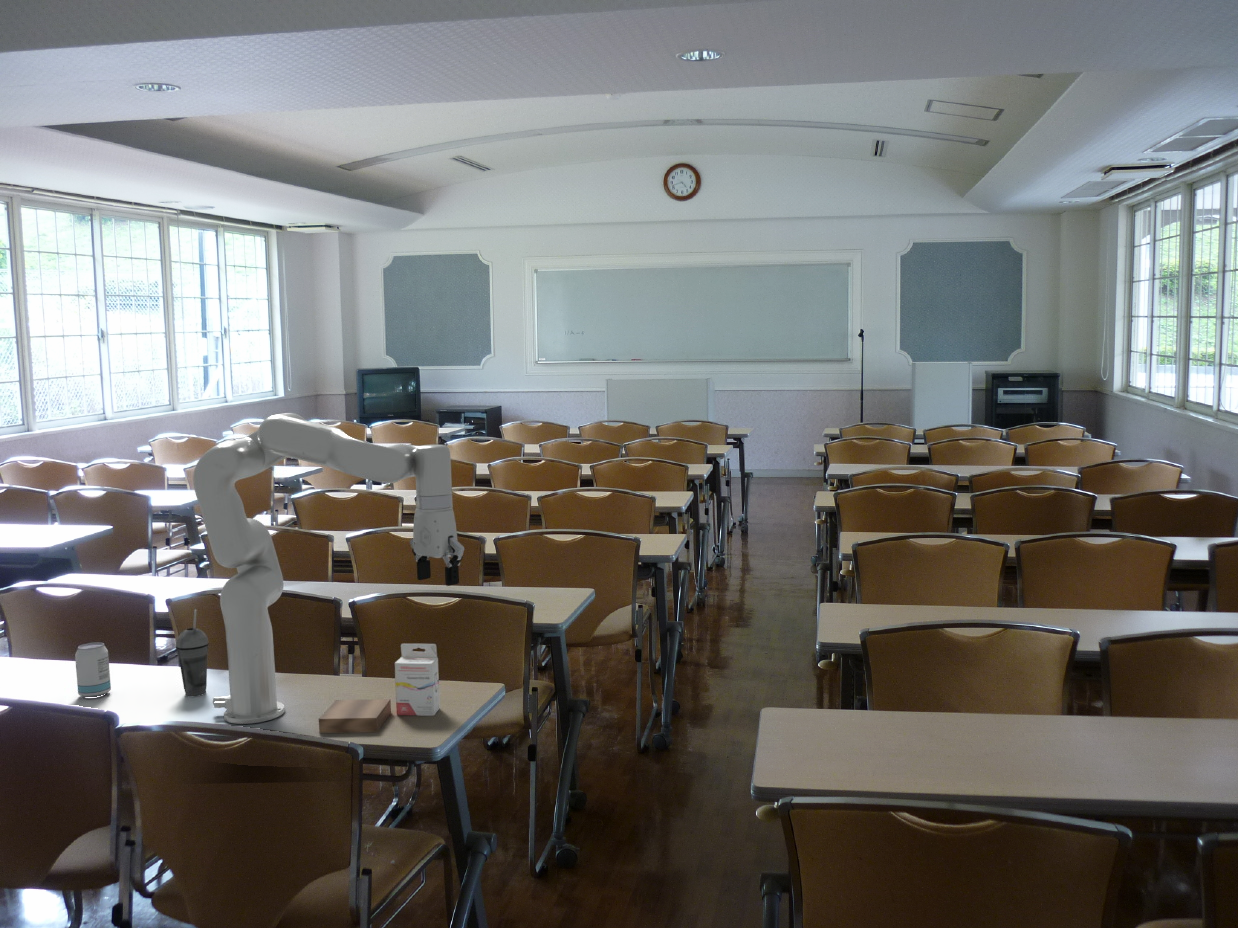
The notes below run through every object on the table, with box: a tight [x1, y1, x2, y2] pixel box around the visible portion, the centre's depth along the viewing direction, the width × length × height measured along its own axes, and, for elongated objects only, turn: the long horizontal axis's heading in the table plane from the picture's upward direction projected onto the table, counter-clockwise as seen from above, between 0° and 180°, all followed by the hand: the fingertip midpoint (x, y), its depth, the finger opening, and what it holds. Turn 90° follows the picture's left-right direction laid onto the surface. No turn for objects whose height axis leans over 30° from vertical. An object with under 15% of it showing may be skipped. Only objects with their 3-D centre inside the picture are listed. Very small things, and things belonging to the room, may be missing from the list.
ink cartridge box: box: [394, 643, 441, 717], centre depth 229 cm, size 9×5×15 cm, turn 84°
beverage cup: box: [175, 608, 210, 697], centre depth 246 cm, size 7×7×20 cm
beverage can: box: [74, 642, 112, 698], centre depth 247 cm, size 7×7×12 cm
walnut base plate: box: [318, 698, 392, 734], centre depth 224 cm, size 12×12×3 cm
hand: (438, 581), depth 226 cm, fingers open, 9 cm apart
